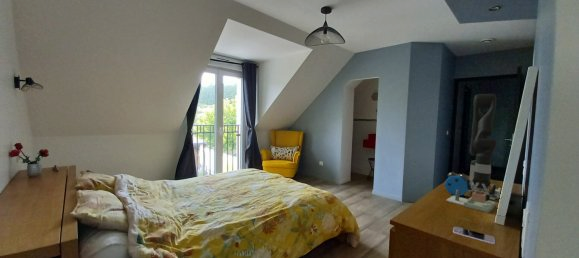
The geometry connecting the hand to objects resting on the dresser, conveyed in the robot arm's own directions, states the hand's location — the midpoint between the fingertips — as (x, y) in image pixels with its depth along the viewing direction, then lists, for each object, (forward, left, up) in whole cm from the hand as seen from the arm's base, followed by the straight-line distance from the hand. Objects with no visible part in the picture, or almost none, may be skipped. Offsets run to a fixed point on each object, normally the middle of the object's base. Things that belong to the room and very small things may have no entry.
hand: (479, 199), depth 141 cm
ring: (0, 0, -1) cm, 1 cm away
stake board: (-1, -11, -5) cm, 12 cm away
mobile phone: (+43, +6, -5) cm, 44 cm away
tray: (-1, 0, -5) cm, 5 cm away
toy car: (-25, -3, -5) cm, 25 cm away
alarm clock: (-13, -15, -5) cm, 20 cm away
